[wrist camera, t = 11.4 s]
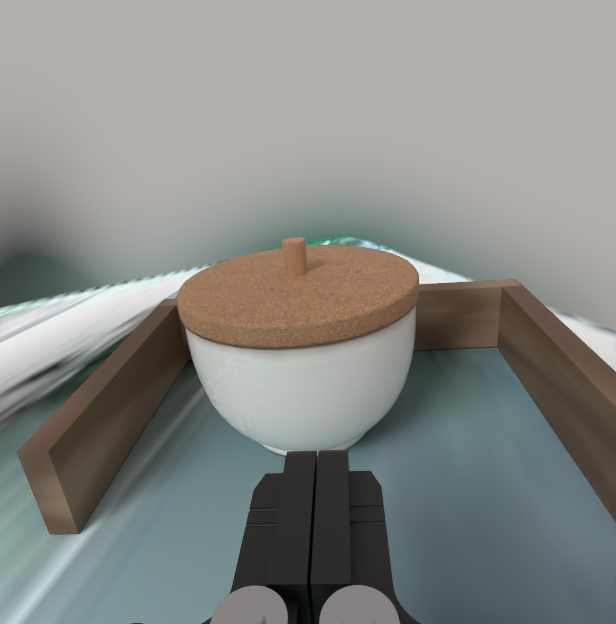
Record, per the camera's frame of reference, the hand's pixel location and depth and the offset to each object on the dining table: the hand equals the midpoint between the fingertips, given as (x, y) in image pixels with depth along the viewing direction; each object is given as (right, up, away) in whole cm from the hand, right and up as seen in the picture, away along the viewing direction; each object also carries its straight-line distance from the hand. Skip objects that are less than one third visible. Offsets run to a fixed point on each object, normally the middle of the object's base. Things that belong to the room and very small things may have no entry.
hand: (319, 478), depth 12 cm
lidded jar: (0, -2, +12) cm, 13 cm away
